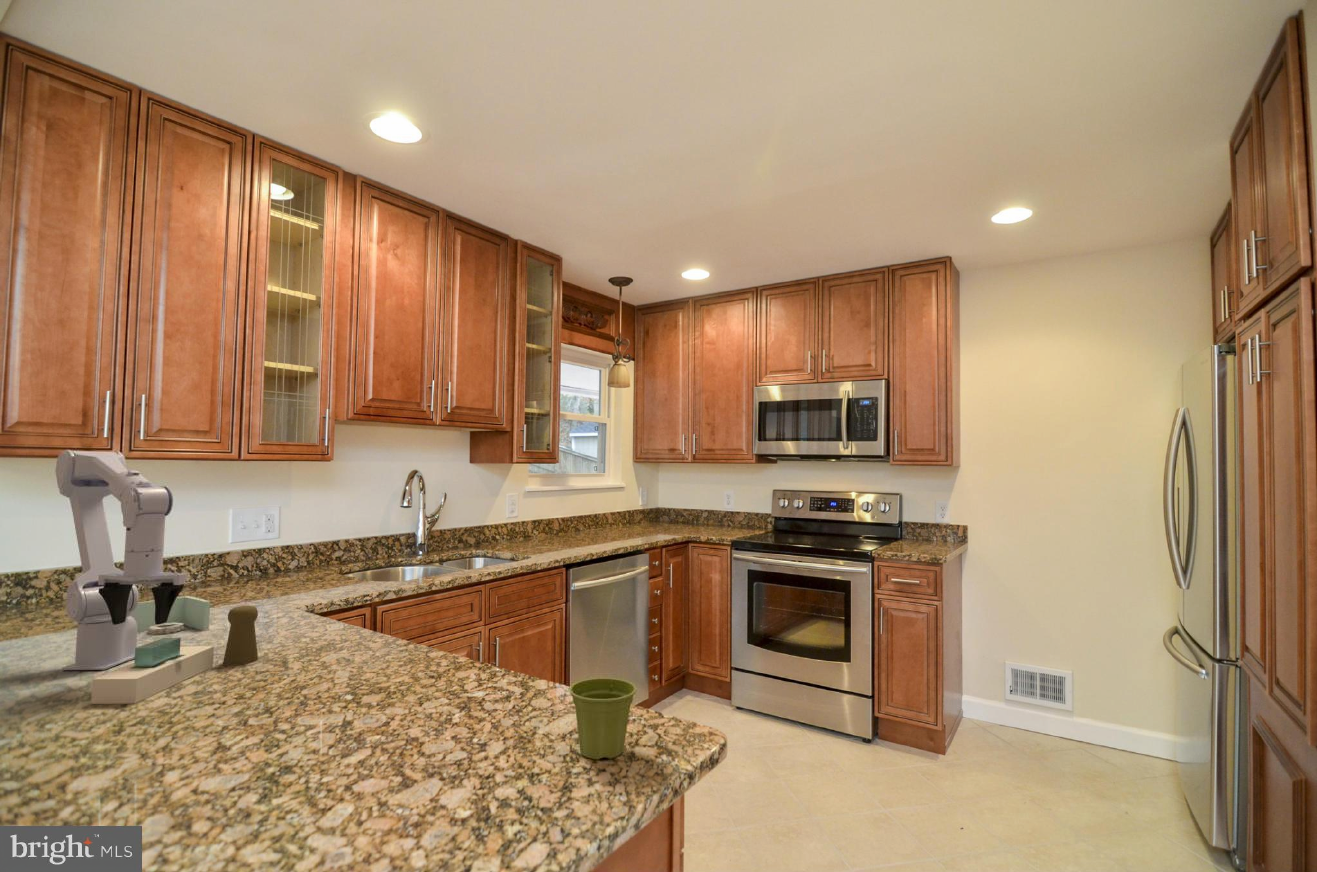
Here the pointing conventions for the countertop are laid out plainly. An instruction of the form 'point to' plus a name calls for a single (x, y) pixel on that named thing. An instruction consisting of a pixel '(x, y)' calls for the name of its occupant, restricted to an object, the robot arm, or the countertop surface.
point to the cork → (241, 636)
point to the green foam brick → (157, 652)
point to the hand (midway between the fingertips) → (140, 623)
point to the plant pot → (602, 715)
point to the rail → (150, 677)
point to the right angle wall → (173, 616)
